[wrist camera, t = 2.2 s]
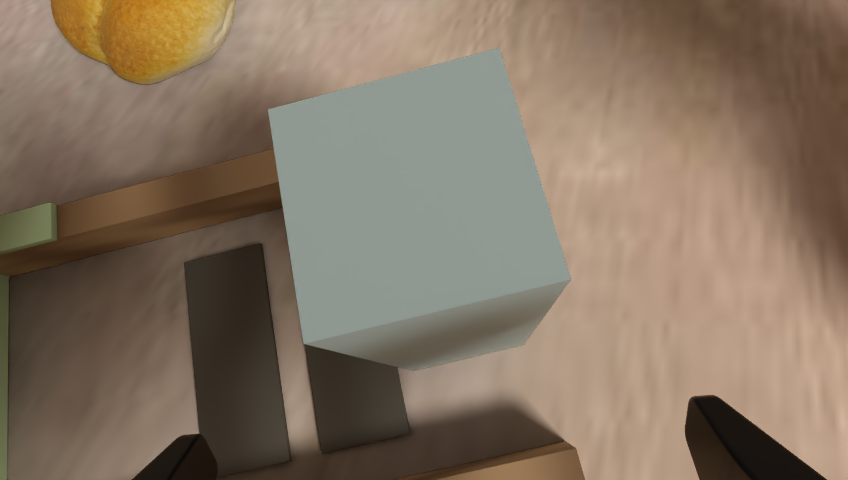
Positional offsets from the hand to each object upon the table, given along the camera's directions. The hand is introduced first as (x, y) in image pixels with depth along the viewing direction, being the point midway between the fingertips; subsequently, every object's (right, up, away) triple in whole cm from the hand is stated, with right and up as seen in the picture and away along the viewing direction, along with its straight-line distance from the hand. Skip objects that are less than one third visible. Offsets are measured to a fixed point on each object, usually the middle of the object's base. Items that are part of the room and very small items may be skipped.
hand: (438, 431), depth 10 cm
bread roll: (-14, +15, +18) cm, 28 cm away
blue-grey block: (+1, +1, +12) cm, 12 cm away
